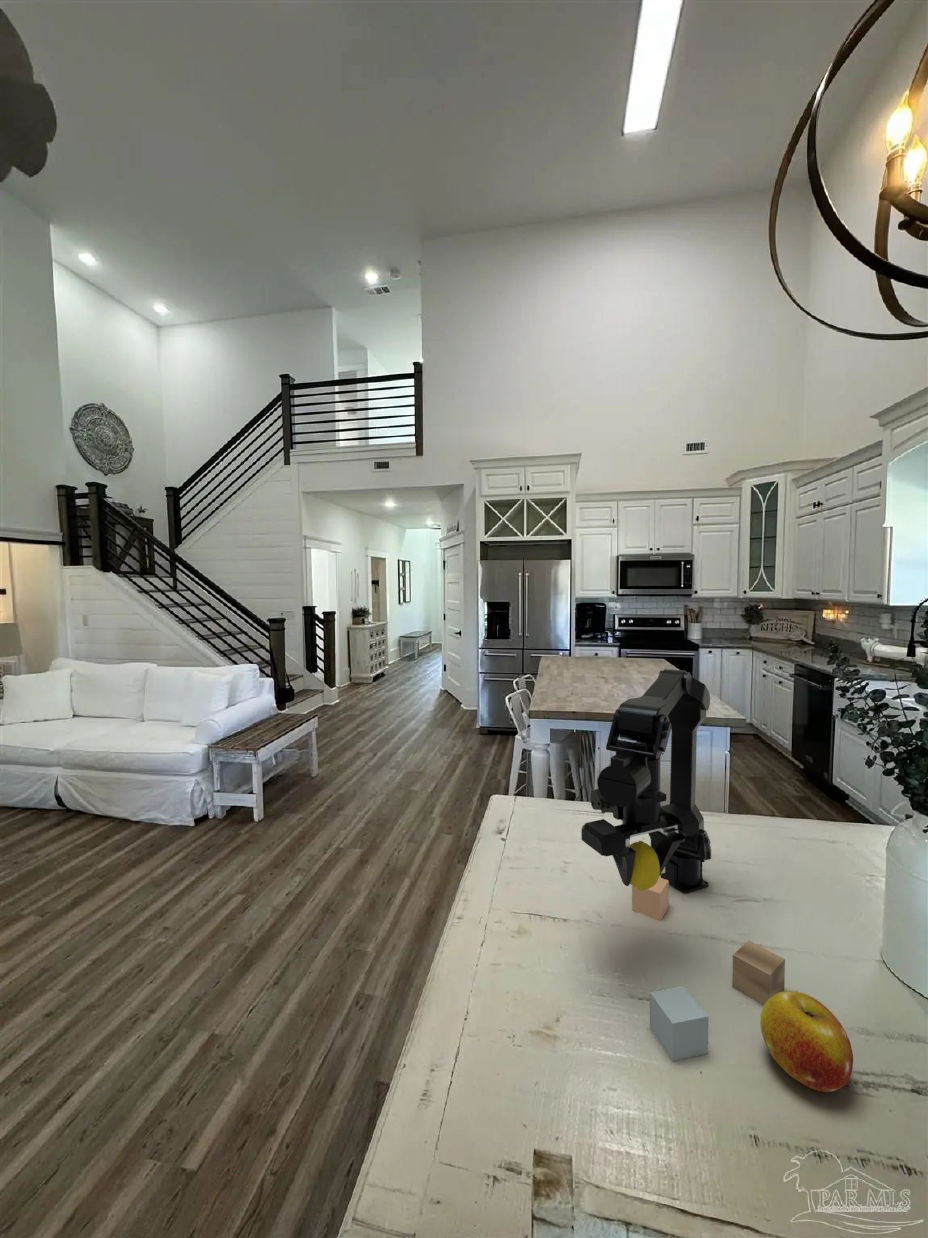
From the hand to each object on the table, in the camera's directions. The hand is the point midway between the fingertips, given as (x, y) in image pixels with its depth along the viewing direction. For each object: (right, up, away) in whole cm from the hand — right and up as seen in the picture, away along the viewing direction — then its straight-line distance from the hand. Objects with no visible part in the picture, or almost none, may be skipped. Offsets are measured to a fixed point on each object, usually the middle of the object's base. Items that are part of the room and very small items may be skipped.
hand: (640, 880), depth 81 cm
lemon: (0, -2, 0) cm, 2 cm away
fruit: (+13, -14, -19) cm, 27 cm away
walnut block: (+15, -13, -6) cm, 20 cm away
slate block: (0, -13, -15) cm, 20 cm away
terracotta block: (+6, -12, +13) cm, 18 cm away
